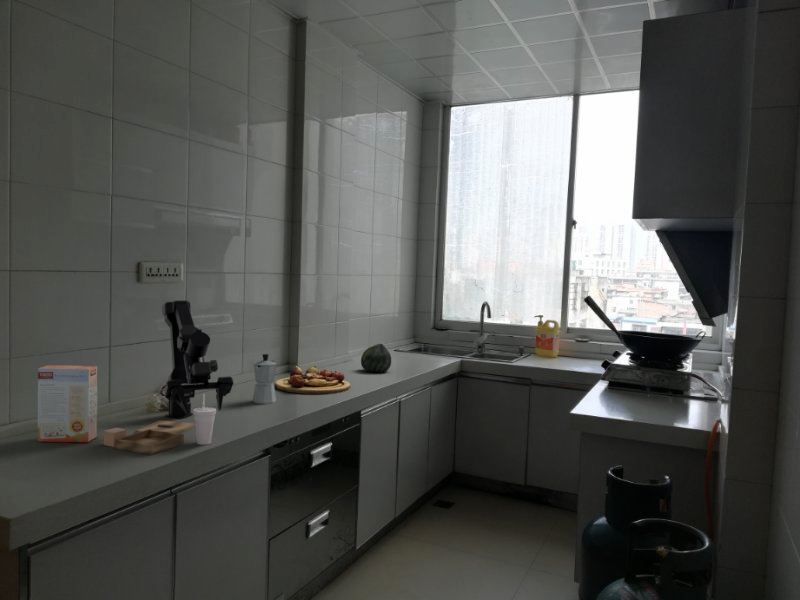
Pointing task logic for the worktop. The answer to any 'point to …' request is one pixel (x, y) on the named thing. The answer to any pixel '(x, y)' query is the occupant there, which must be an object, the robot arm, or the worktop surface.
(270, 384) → the coffee maker
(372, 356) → the squash
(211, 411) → the smoothie
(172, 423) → the lid
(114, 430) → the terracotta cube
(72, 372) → the cracker box
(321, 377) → the wooden plate with food
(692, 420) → the worktop surface
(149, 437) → the wooden tray
